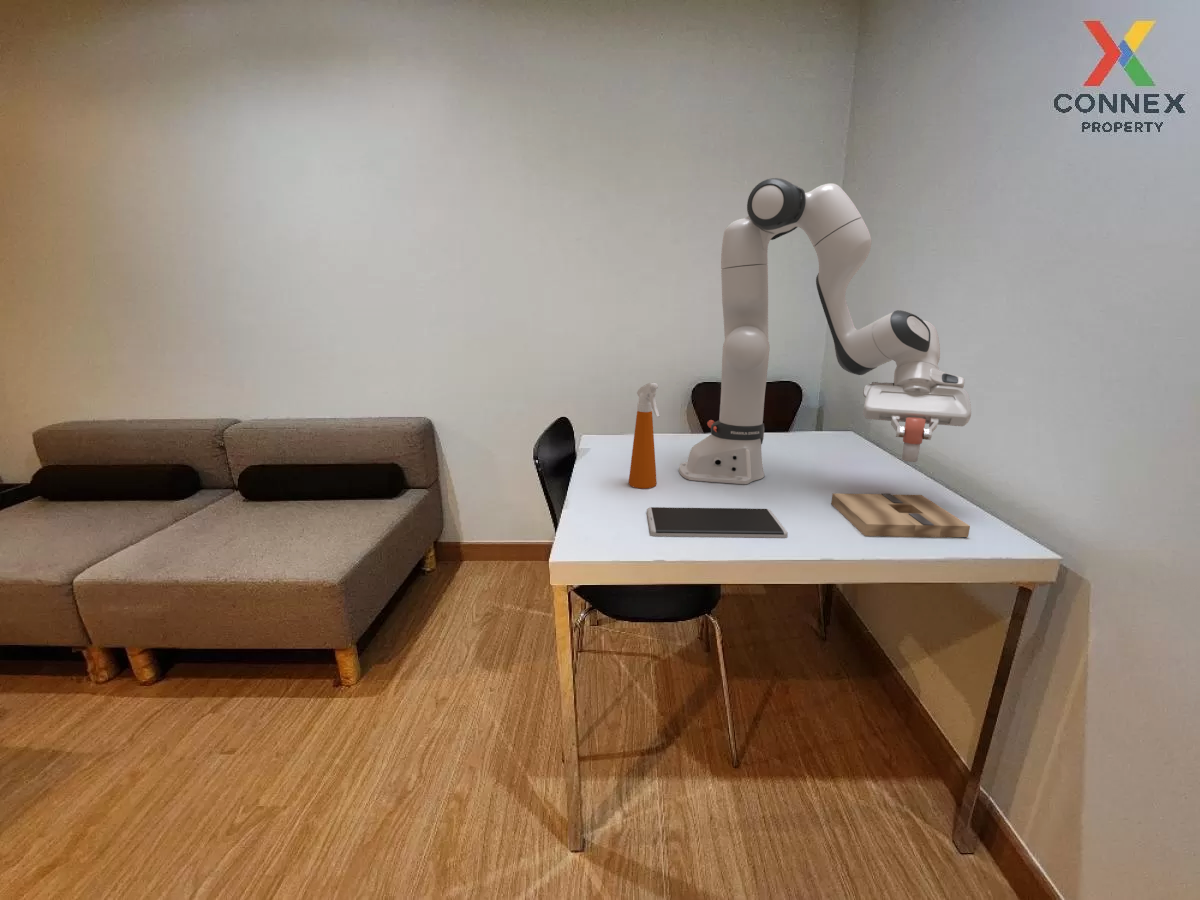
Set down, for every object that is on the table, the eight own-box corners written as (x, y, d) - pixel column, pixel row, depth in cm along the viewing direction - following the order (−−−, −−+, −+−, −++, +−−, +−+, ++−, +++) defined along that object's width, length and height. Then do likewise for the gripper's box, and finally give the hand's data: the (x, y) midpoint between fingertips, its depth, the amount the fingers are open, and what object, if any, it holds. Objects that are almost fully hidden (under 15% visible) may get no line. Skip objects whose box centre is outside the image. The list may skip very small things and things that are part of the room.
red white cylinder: (905, 462, 117) (911, 420, 114) (896, 457, 120) (902, 417, 118) (922, 462, 117) (929, 420, 114) (913, 457, 120) (919, 417, 118)
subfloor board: (864, 536, 109) (866, 523, 109) (831, 503, 127) (832, 492, 126) (967, 537, 109) (970, 525, 108) (919, 505, 126) (921, 494, 125)
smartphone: (788, 540, 108) (789, 532, 108) (650, 538, 109) (651, 530, 108) (769, 515, 121) (770, 507, 121) (646, 513, 122) (646, 506, 121)
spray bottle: (642, 495, 132) (645, 385, 125) (624, 481, 141) (625, 379, 134) (668, 491, 134) (673, 383, 127) (648, 478, 144) (651, 377, 137)
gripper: (865, 373, 124) (860, 424, 118) (973, 378, 116) (973, 433, 110) (862, 390, 129) (858, 440, 123) (965, 396, 121) (965, 449, 115)
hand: (913, 437), depth 116 cm, fingers closed on red white cylinder, 4 cm apart
